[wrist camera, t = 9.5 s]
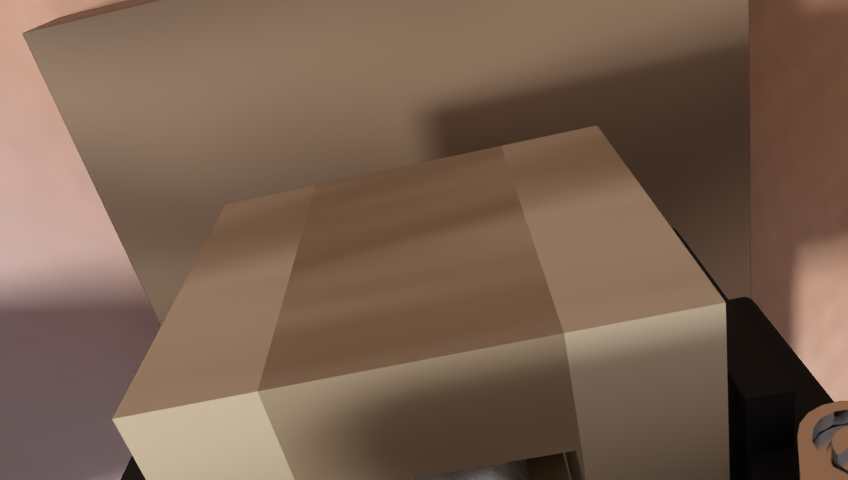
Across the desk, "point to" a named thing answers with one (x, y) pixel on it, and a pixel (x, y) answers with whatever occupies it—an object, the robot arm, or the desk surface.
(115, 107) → the brown rectangular board
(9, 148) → the desk surface
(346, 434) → the wooden square holder
